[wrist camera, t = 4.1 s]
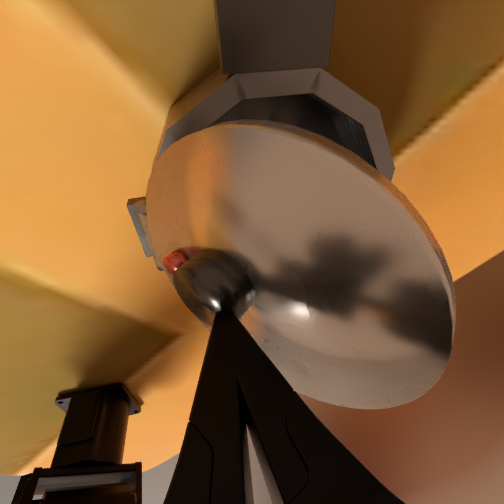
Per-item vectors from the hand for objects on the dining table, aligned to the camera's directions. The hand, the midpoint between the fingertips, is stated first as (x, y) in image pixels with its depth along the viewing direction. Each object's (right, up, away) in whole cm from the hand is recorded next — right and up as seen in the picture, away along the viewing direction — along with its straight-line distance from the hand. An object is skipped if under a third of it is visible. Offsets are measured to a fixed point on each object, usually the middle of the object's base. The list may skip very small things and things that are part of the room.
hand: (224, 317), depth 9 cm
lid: (+1, +1, +1) cm, 2 cm away
